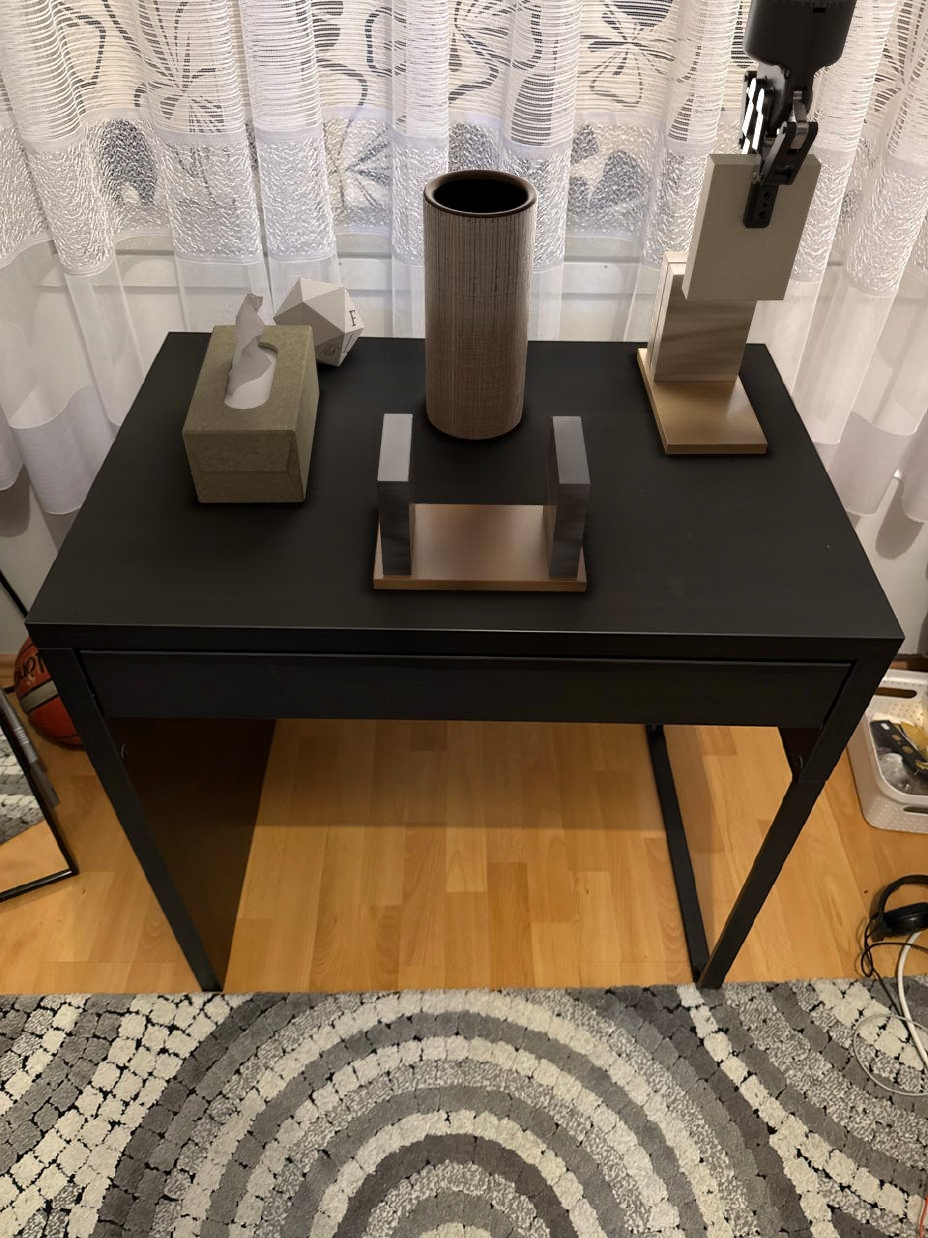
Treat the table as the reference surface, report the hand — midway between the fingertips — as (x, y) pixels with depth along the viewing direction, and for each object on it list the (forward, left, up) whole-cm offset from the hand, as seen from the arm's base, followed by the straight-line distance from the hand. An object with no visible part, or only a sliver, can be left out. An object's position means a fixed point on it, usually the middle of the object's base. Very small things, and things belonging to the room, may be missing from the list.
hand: (750, 218), depth 81 cm
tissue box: (+37, +24, -21) cm, 50 cm away
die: (+42, +7, -21) cm, 47 cm away
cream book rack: (+2, -3, -21) cm, 22 cm away
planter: (+22, +9, -21) cm, 32 cm away
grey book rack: (+12, +28, -21) cm, 37 cm away
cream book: (0, 0, -7) cm, 7 cm away
